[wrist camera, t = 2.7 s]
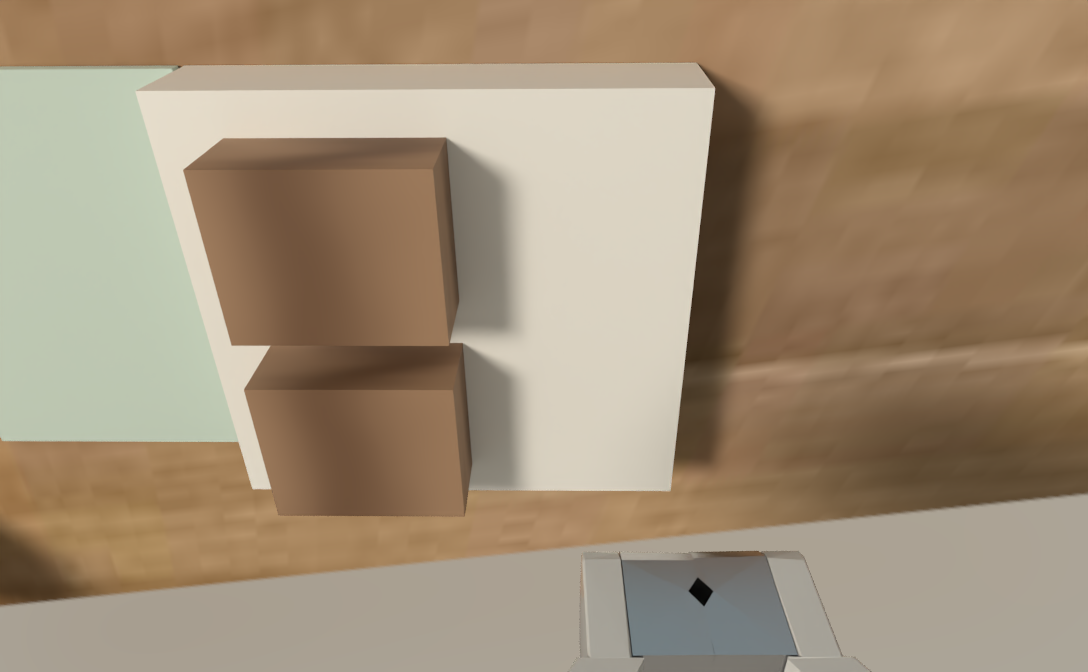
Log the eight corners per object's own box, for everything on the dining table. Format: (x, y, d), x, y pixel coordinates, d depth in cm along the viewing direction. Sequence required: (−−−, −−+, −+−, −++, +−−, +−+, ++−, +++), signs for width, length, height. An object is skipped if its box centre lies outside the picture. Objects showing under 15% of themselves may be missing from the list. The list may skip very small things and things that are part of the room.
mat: (177, 65, 22) (171, 68, 21) (274, 435, 29) (270, 441, 29) (-177, 67, 22) (-188, 70, 22) (9, 434, 29) (2, 440, 29)
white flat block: (696, 62, 21) (715, 88, 19) (660, 436, 29) (670, 490, 26) (184, 65, 22) (135, 90, 19) (279, 435, 29) (252, 489, 27)
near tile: (446, 137, 20) (432, 169, 18) (459, 301, 22) (449, 345, 20) (223, 138, 20) (182, 170, 18) (262, 301, 22) (231, 345, 20)
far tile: (462, 343, 23) (452, 390, 21) (472, 463, 26) (464, 516, 24) (272, 342, 23) (243, 389, 21) (301, 462, 26) (278, 515, 24)
